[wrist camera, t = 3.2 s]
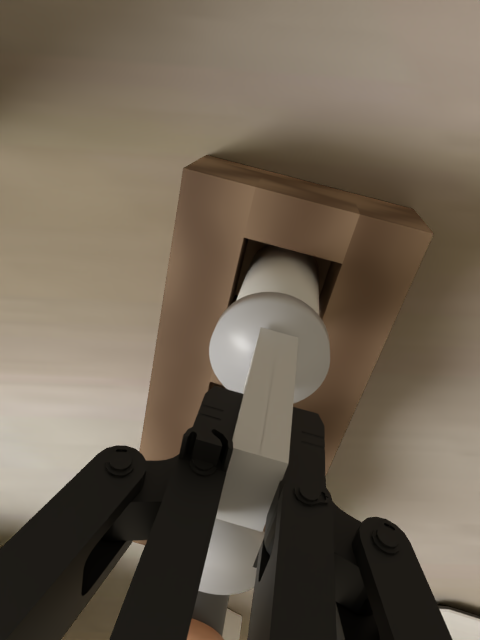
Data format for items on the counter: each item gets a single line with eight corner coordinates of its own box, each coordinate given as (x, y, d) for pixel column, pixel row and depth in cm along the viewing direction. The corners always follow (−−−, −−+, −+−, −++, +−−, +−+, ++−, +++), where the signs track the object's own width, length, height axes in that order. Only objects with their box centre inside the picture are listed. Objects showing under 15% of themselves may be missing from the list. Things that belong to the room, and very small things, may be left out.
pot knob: (176, 531, 33) (131, 670, 25) (186, 487, 31) (141, 625, 23) (239, 549, 33) (214, 695, 25) (254, 506, 30) (232, 652, 22)
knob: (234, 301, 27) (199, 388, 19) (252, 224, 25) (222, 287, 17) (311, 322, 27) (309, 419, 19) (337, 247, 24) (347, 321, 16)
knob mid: (197, 442, 29) (151, 576, 21) (211, 383, 26) (165, 509, 18) (269, 462, 28) (251, 606, 20) (290, 405, 26) (278, 541, 18)
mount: (147, 488, 39) (125, 539, 34) (206, 154, 25) (183, 168, 21) (281, 527, 38) (277, 583, 34) (413, 208, 25) (433, 233, 21)
